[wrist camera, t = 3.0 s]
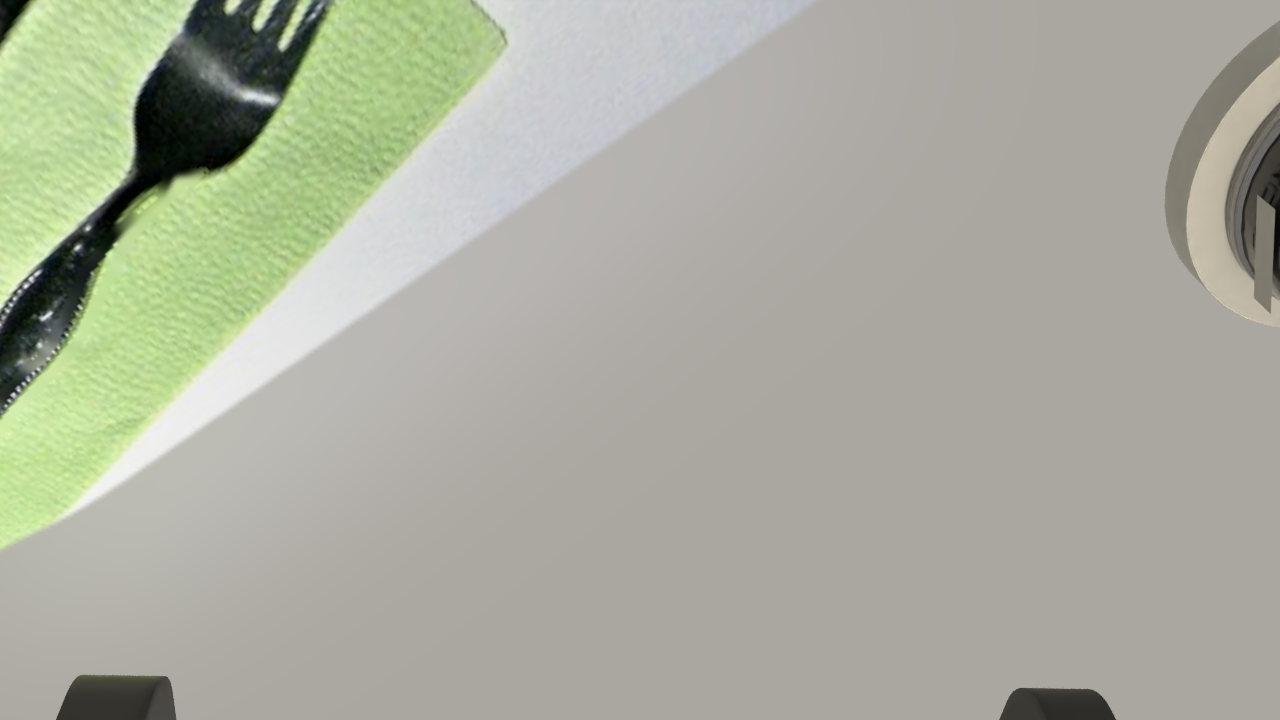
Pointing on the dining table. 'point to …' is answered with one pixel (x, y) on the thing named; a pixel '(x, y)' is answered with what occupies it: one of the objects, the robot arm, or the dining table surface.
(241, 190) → the dining table surface
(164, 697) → the robot arm
